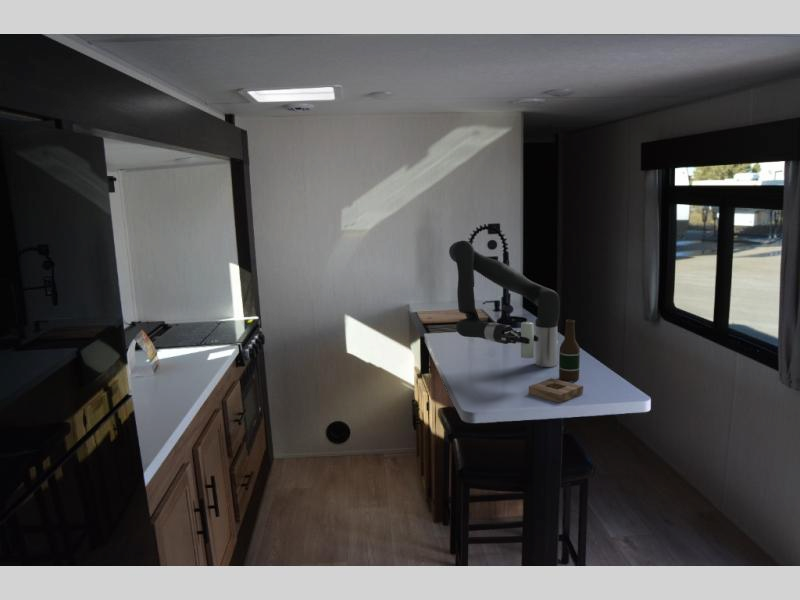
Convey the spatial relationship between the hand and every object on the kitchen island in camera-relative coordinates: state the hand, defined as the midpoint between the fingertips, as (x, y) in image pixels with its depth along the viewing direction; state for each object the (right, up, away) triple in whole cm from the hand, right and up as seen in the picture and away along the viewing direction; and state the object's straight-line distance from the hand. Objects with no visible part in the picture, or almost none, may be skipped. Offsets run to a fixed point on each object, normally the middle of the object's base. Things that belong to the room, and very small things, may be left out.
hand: (533, 339), depth 231 cm
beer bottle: (+17, -17, +13) cm, 27 cm away
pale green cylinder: (-2, -7, +3) cm, 7 cm away
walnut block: (+7, -20, -4) cm, 21 cm away
